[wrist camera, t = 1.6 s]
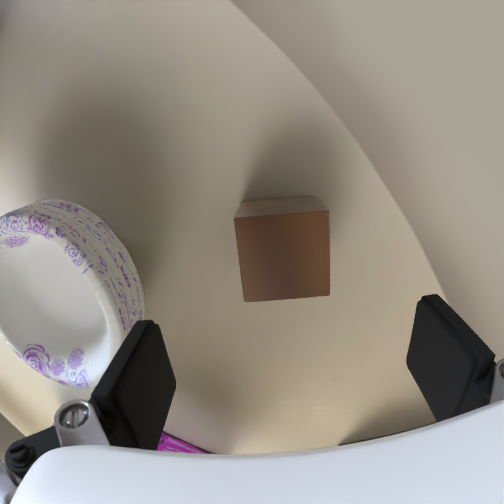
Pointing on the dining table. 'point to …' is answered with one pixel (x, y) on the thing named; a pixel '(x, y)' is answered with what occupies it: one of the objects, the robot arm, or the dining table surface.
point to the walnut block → (283, 248)
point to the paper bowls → (65, 291)
